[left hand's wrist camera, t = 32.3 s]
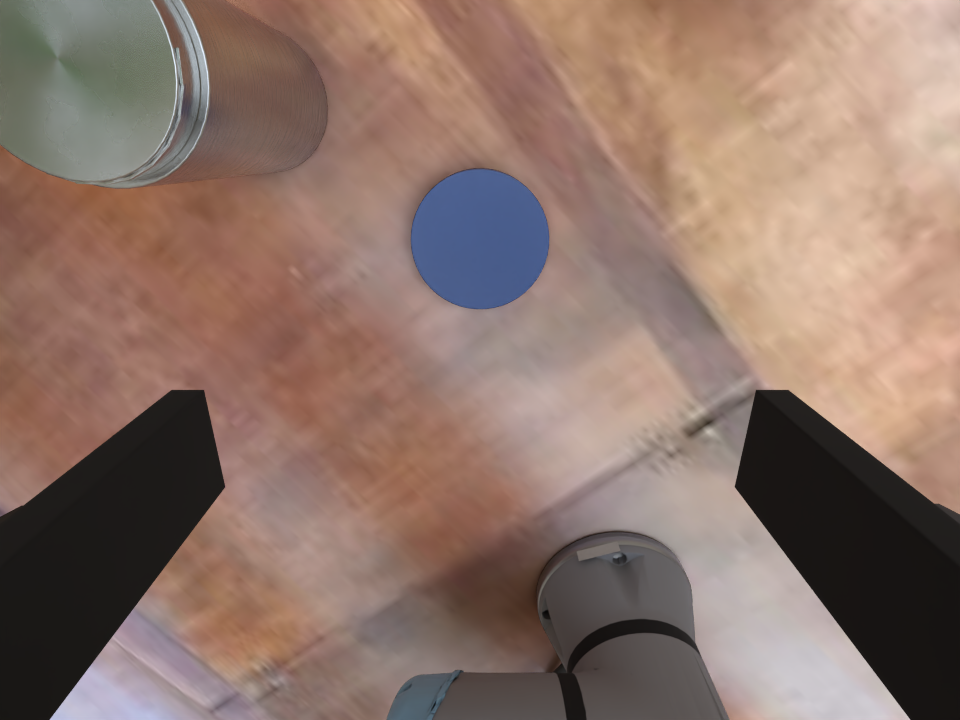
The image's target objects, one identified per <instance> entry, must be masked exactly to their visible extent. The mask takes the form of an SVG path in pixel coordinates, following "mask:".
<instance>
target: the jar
mask: <svg viewBox="0 0 960 720" xmlns="http://www.w3.org/2000/svg"><path fill="white" fill-rule="evenodd" d="M326 122H327V98H326V93H325V88H324V85H323V82H322V79H321V77H320V75H319V73H318V70H317V68H316V67H315V65H314V64H313V62H312V60H311V59H310V58H309V56H308V55H307V54H306V53H305V51H304V50H303V49H302V48H301V47H300V46H299V45H298V44H296V43H295V42H294V41H293V40H291V39H290V38H289V37H287V36H285V35H284V34H282V33H280V32H279V31H277V30H275V29H273V28H272V27H270V26H268V25H267V24H265V23H263V22H261V21H260V20H258V19H256V18H255V17H253V16H251V15H250V14H248V13H246V12H244V11H243V10H241V9H239V8H238V7H236V6H234V5H232V4H231V3H229V2H227V1H226V0H0V145H1V146H2V147H4V148H5V149H6V150H8V151H9V152H10V153H11V154H13V155H14V156H16V157H17V158H19V159H21V160H22V161H24V162H25V163H27V164H29V165H31V166H33V167H35V168H37V169H39V170H41V171H43V172H46V173H47V174H49V175H52V176H56V177H59V178H62V179H65V180H69V181H72V182H75V183H76V184H92V185H96V186H100V187H107V188H115V189H130V188H139V187H148V186H157V185H166V184H175V183H184V182H193V181H202V180H211V179H220V178H229V177H238V176H247V175H256V174H265V173H274V172H281V171H285V170H289V169H292V168H294V167H296V166H298V165H300V164H301V163H303V162H304V161H305V160H306V159H308V158H309V157H310V156H311V155H312V153H313V152H314V151H315V150H316V148H317V147H318V145H319V143H320V141H321V139H322V137H323V134H324V131H325V127H326Z"/></svg>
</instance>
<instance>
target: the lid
mask: <svg viewBox="0 0 960 720" xmlns="http://www.w3.org/2000/svg"><path fill="white" fill-rule="evenodd" d="M411 248H412V253H413V258H414V261H415V264H416V267H417V269H418V271H419V273H420V275H421V276H422V278H423V279H424V281H425V282H426V283H427V284H428V286H429V287H430V288H431V289H432V290H433V291H434V292H435V293H437V294H438V295H439V296H441V297H442V298H443V299H445V300H447V301H449V302H451V303H453V304H456V305H458V306H461V307H466V308H472V309H489V308H495V307H498V306H502V305H505V304H507V303H509V302H511V301H513V300H515V299H517V298H518V297H520V296H521V295H522V294H523V293H525V292H526V291H527V290H528V289H529V288H530V287H531V286H532V285H533V283H534V282H535V281H536V280H537V278H538V276H539V275H540V273H541V271H542V269H543V267H544V264H545V261H546V258H547V255H548V248H549V230H548V224H547V220H546V217H545V214H544V211H543V209H542V207H541V205H540V204H539V202H538V200H537V199H536V197H535V196H534V195H533V193H532V192H531V191H530V190H529V189H528V188H527V187H526V186H524V185H523V184H522V183H521V182H519V181H518V180H517V179H515V178H513V177H512V176H510V175H508V174H505V173H503V172H500V171H497V170H493V169H485V168H474V169H468V170H463V171H460V172H457V173H455V174H452V175H450V176H448V177H447V178H445V179H444V180H442V181H441V182H439V183H438V184H437V185H436V186H435V187H433V188H432V189H431V190H430V192H429V193H428V194H427V195H426V196H425V198H424V199H423V201H422V202H421V204H420V205H419V208H418V210H417V212H416V214H415V217H414V220H413V225H412V230H411Z"/></svg>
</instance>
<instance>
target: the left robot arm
mask: <svg viewBox="0 0 960 720" xmlns="http://www.w3.org/2000/svg"><path fill="white" fill-rule="evenodd" d="M224 488H225V484H224V479H223V475H222V470H221V466H220V461H219V456H218V452H217V447H216V443H215V438H214V434H213V429H212V425H211V420H210V416H209V411H208V406H207V402H206V397H205V393H204V390H171V391H170V392H169V393H167V394H166V395H165V396H163V397H162V398H161V399H160V400H158V401H157V402H156V403H154V404H153V405H152V406H151V407H149V408H148V409H147V410H145V411H144V412H143V413H142V414H140V415H139V416H138V417H136V418H135V419H134V420H133V421H131V422H130V423H129V424H128V425H126V426H125V427H124V428H122V429H121V430H120V431H119V432H117V433H116V434H115V435H113V436H112V437H111V438H110V439H108V440H107V441H106V442H104V443H103V444H102V445H101V446H99V447H98V448H97V449H95V450H94V451H93V452H92V453H90V454H89V455H88V456H87V457H85V458H84V459H83V460H81V461H80V462H79V463H78V464H76V465H75V466H74V467H72V468H71V469H70V470H69V471H67V472H66V473H65V474H63V475H62V476H61V477H60V478H58V479H57V480H56V481H54V482H53V483H52V484H51V485H49V486H48V487H47V488H45V489H44V490H43V491H42V492H40V493H39V494H38V495H37V496H35V497H34V498H33V499H31V500H30V501H29V502H28V503H26V504H25V505H24V506H20V507H18V508H16V509H14V510H13V511H11V512H9V513H7V514H5V515H3V516H1V517H0V720H50V718H51V717H52V716H53V714H54V713H55V712H56V710H57V709H58V708H59V706H60V705H61V704H62V702H63V701H64V700H65V698H66V697H67V696H68V694H69V693H70V692H71V691H72V689H73V688H74V687H75V685H76V684H77V683H78V681H79V680H80V679H81V677H82V676H83V675H84V673H85V672H86V671H87V669H88V668H89V667H90V665H91V664H92V663H93V661H94V660H95V659H96V657H97V656H98V655H99V653H100V652H101V651H102V649H103V648H104V647H105V645H106V644H107V643H108V642H109V640H110V639H111V638H112V636H113V635H114V634H115V632H116V631H117V630H118V628H119V627H120V626H121V624H122V623H123V622H124V620H125V619H126V618H127V616H128V615H129V614H130V612H131V611H132V610H133V608H134V607H135V606H136V604H137V603H138V602H139V600H140V599H141V598H142V596H143V595H144V594H145V593H146V591H147V590H148V589H149V587H150V586H151V585H152V583H153V582H154V581H155V579H156V578H157V577H158V575H159V574H160V573H161V571H162V570H163V569H164V567H165V566H166V565H167V563H168V562H169V561H170V559H171V558H172V557H173V555H174V554H175V553H176V551H177V550H178V549H179V547H180V546H181V545H182V544H183V542H184V541H185V540H186V538H187V537H188V536H189V534H190V533H191V532H192V530H193V529H194V528H195V526H196V525H197V524H198V522H199V521H200V520H201V518H202V517H203V516H204V514H205V513H206V512H207V510H208V509H209V508H210V506H211V505H212V504H213V502H214V501H215V500H216V498H217V497H218V496H219V495H220V493H221V492H222V491H223V489H224ZM735 488H736V489H737V491H738V492H739V493H740V495H741V496H742V497H743V498H744V500H745V501H746V502H747V504H748V505H749V506H750V508H751V509H752V510H753V512H754V513H755V514H756V516H757V517H758V518H759V520H760V521H761V522H762V524H763V525H764V526H765V528H766V529H767V530H768V532H769V533H770V534H771V536H772V537H773V538H774V540H775V541H776V542H777V544H778V545H779V546H780V547H781V549H782V550H783V551H784V553H785V554H786V555H787V557H788V558H789V559H790V561H791V562H792V563H793V565H794V566H795V567H796V569H797V570H798V571H799V573H800V574H801V575H802V577H803V578H804V579H805V581H806V582H807V583H808V585H809V586H810V587H811V589H812V590H813V591H814V593H815V594H816V595H817V596H818V598H819V599H820V600H821V602H822V603H823V604H824V606H825V607H826V608H827V610H828V611H829V612H830V614H831V615H832V616H833V618H834V619H835V620H836V622H837V623H838V624H839V626H840V627H841V628H842V630H843V631H844V632H845V634H846V635H847V636H848V638H849V639H850V640H851V642H852V643H853V644H854V645H855V647H856V648H857V649H858V651H859V652H860V653H861V655H862V656H863V657H864V659H865V660H866V661H867V663H868V664H869V665H870V667H871V668H872V669H873V671H874V672H875V673H876V675H877V676H878V677H879V679H880V680H881V681H882V683H883V684H884V685H885V687H886V688H887V689H888V691H889V692H890V693H891V694H892V696H893V697H894V698H895V700H896V701H897V702H898V704H899V705H900V706H901V708H902V709H903V710H904V712H905V713H906V714H907V716H908V717H909V718H910V720H960V514H958V513H956V512H954V511H952V510H950V509H948V508H946V507H944V506H942V505H940V504H934V503H932V502H931V501H930V500H929V499H927V498H926V497H925V496H923V495H922V494H921V493H920V492H918V491H917V490H916V489H915V488H913V487H912V486H911V485H909V484H908V483H907V482H906V481H904V480H903V479H902V478H900V477H899V476H898V475H897V474H895V473H894V472H893V471H891V470H890V469H889V468H888V467H886V466H885V465H884V464H882V463H881V462H880V461H879V460H877V459H876V458H875V457H873V456H872V455H871V454H870V453H868V452H867V451H866V450H865V449H863V448H862V447H861V446H859V445H858V444H857V443H856V442H854V441H853V440H852V439H850V438H849V437H848V436H847V435H845V434H844V433H843V432H841V431H840V430H839V429H838V428H836V427H835V426H834V425H832V424H831V423H830V422H829V421H827V420H826V419H825V418H823V417H822V416H821V415H820V414H818V413H817V412H816V411H815V410H813V409H812V408H811V407H809V406H808V405H807V404H806V403H804V402H803V401H802V400H800V399H799V398H798V397H797V396H795V395H794V394H793V393H791V392H790V391H789V390H756V393H755V397H754V402H753V406H752V411H751V416H750V420H749V425H748V429H747V434H746V438H745V443H744V447H743V452H742V456H741V461H740V466H739V470H738V475H737V479H736V484H735ZM536 597H537V606H538V614H539V618H540V621H541V624H542V626H543V628H544V630H545V632H546V634H547V636H548V638H549V640H550V641H551V643H552V645H553V647H554V649H555V651H556V653H557V654H558V656H559V658H560V660H561V662H562V664H561V665H560V666H559V667H558V668H557V669H556V670H555V671H554V672H553V673H467V672H464V671H462V670H455V671H454V672H452V673H442V674H427V675H418V676H415V677H413V678H411V679H409V680H408V681H407V682H406V683H405V684H404V685H403V686H402V687H401V689H400V690H399V692H398V693H397V695H396V697H395V699H394V701H393V703H392V706H391V708H390V711H389V714H388V717H387V720H729V717H728V715H727V713H726V711H725V708H724V706H723V704H722V702H721V699H720V697H719V695H718V693H717V690H716V688H715V686H714V684H713V682H712V679H711V677H710V675H709V673H708V670H707V668H706V666H705V664H704V661H703V659H702V657H701V655H700V652H699V650H698V648H697V646H696V643H695V630H694V616H693V606H692V590H691V586H690V582H689V580H688V577H687V575H686V573H685V571H684V569H683V567H682V565H681V563H680V561H679V560H678V558H677V557H676V556H675V555H674V554H673V552H672V551H670V550H669V549H668V548H667V547H666V546H664V545H663V544H661V543H659V542H658V541H656V540H653V539H651V538H649V537H646V536H642V535H638V534H633V533H624V532H611V533H603V534H597V535H593V536H589V537H586V538H583V539H581V540H578V541H576V542H574V543H572V544H570V545H569V546H567V547H565V548H564V549H563V550H561V551H560V552H559V553H557V554H556V555H555V556H554V557H553V558H552V559H551V560H550V561H549V562H548V564H547V565H546V567H545V568H544V570H543V571H542V573H541V576H540V578H539V581H538V584H537V592H536Z"/></svg>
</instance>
